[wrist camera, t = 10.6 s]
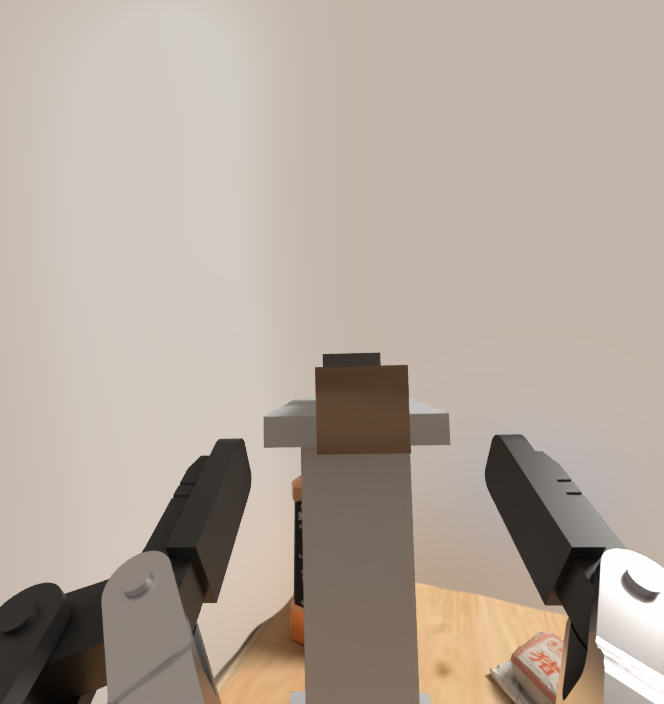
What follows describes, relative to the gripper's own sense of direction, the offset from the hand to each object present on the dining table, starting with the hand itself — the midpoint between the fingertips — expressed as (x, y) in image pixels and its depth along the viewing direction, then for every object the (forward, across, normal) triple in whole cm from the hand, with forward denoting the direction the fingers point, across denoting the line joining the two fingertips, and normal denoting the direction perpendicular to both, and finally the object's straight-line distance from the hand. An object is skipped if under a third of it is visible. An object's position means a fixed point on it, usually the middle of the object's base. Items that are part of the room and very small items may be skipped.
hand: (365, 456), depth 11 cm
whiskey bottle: (+15, +3, +46) cm, 49 cm away
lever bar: (+10, 0, +6) cm, 11 cm away
